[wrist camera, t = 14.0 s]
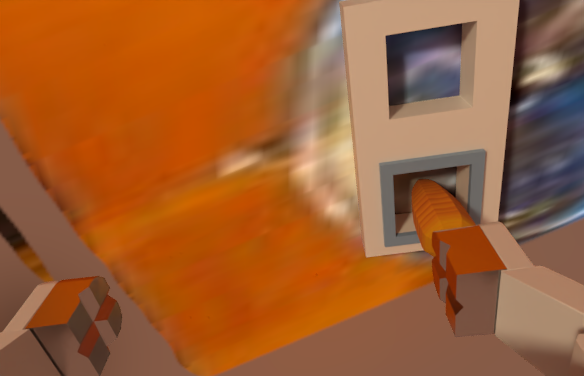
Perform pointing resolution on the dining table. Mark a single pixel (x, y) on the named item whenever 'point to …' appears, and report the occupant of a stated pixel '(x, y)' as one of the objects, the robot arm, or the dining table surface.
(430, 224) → the carrot
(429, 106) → the duct block
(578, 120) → the dining table surface
